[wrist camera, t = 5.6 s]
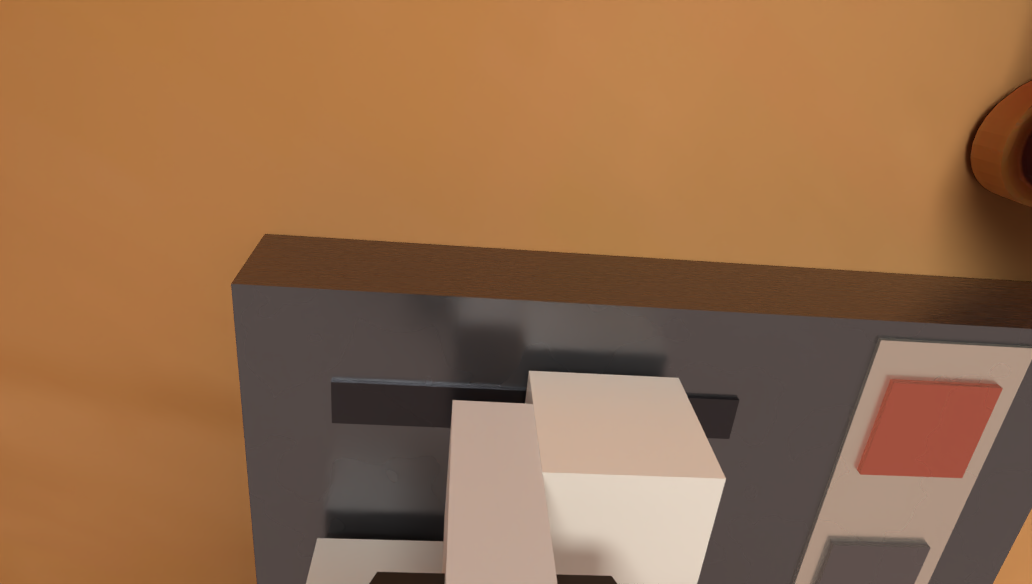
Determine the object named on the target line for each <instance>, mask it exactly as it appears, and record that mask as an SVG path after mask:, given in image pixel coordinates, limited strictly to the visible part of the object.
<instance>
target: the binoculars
mask: <svg viewBox="0 0 1032 584" xmlns="http://www.w3.org/2000/svg"><path fill="white" fill-rule="evenodd" d="M971 166H972V170H973V173H974V175H975V177H976V179H977V180H978V182H979V183H980V184H981V185H982V186H983V187H984V188H986V189H987V190H989V191H990V192H992V193H994V194H997V195H999V196H1002V197H1005V198H1007V199H1010V200H1013V201H1015V202H1018V203H1021V204H1023V205H1026V206H1030V207H1032V80H1031V81H1030V82H1028V83H1026V84H1024V85H1022V86H1020V87H1019V88H1017V89H1016V90H1015V91H1014V92H1012V93H1011V94H1010V95H1008V96H1007V97H1006V98H1005V99H1003V100H1002V101H1001V102H1000V103H998V104H997V105H996V106H995V108H994V109H993V110H992V111H991V112H990V113H989V114H988V115H987V117H986V118H985V120H984V121H983V123H982V124H981V126H980V127H979V129H978V131H977V134H976V136H975V139H974V141H973V144H972V151H971Z"/></svg>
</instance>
